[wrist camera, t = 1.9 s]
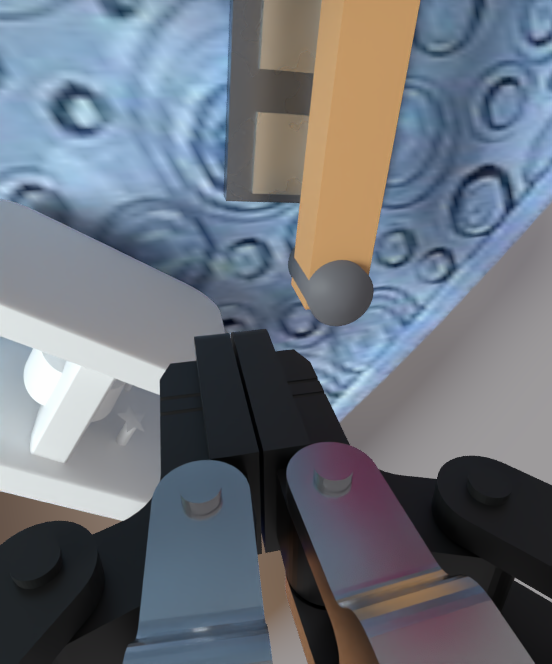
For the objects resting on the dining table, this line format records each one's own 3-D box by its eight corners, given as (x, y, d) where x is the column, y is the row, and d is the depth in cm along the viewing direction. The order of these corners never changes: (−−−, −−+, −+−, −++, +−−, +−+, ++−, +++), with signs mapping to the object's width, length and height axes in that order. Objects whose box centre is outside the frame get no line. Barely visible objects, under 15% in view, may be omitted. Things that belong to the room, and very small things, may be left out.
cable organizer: (229, 297, 34) (259, 402, 24) (157, 410, 38) (158, 541, 28) (-2, 183, 28) (-87, 263, 18) (-64, 331, 31) (-164, 466, 21)
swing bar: (322, -75, 20) (360, -101, 16) (395, -64, 21) (448, -86, 17) (285, 288, 28) (305, 327, 24) (339, 288, 29) (367, 325, 25)
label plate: (231, -49, 25) (235, -53, 23) (399, -26, 27) (412, -29, 25) (223, 195, 31) (226, 202, 29) (362, 199, 33) (370, 206, 31)
